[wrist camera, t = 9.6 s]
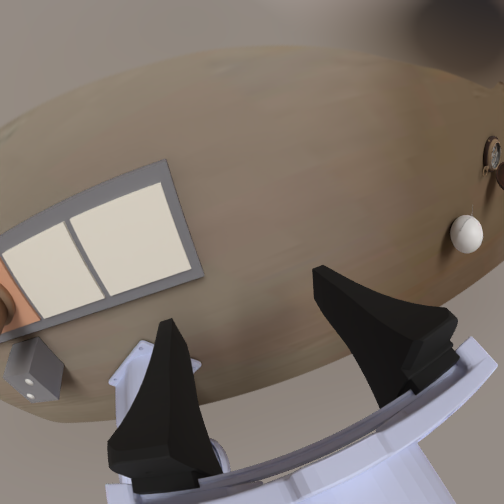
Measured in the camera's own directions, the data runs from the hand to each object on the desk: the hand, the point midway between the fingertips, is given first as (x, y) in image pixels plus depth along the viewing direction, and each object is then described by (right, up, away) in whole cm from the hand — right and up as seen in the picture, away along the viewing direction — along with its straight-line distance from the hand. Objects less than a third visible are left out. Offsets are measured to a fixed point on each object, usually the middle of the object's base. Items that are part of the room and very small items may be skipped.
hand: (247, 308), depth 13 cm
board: (-20, 0, +5) cm, 21 cm away
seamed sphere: (+31, +8, +20) cm, 37 cm away
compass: (+38, +18, +16) cm, 45 cm away
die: (-24, -9, +9) cm, 28 cm away
